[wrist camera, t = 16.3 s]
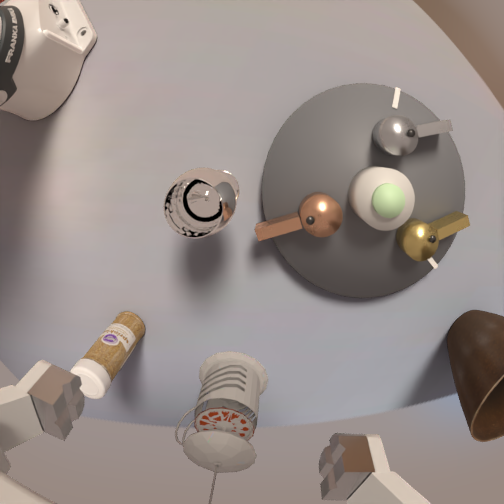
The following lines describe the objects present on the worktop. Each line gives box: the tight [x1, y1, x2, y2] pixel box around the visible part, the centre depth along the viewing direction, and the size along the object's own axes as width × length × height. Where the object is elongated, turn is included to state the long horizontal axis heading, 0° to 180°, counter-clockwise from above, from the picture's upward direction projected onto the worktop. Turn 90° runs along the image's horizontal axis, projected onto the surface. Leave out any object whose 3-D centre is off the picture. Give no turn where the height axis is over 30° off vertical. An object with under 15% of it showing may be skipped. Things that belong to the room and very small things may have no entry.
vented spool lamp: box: [175, 351, 268, 504], centre depth 31 cm, size 10×12×25 cm
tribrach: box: [262, 83, 465, 298], centre depth 31 cm, size 24×24×7 cm
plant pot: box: [447, 310, 504, 442], centre depth 31 cm, size 15×15×16 cm
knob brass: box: [396, 211, 470, 261], centre depth 31 cm, size 8×4×3 cm, turn 114°
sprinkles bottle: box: [70, 311, 145, 399], centre depth 35 cm, size 5×5×13 cm
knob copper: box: [255, 192, 343, 241], centre depth 31 cm, size 8×4×3 cm, turn 108°
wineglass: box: [164, 168, 239, 238], centre depth 29 cm, size 6×6×12 cm
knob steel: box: [372, 115, 453, 156], centre depth 28 cm, size 8×4×3 cm, turn 107°
